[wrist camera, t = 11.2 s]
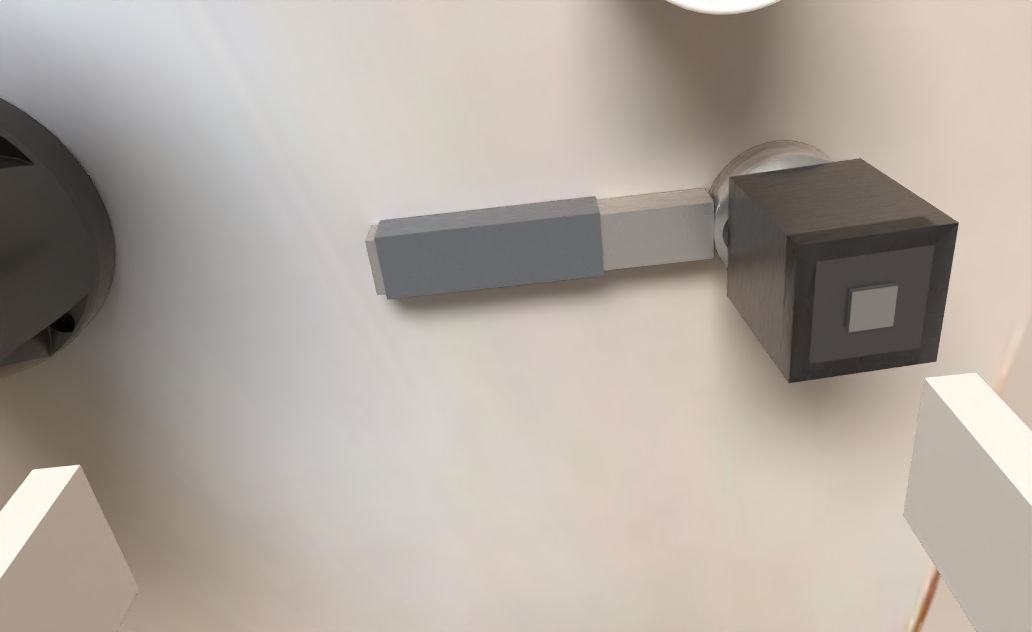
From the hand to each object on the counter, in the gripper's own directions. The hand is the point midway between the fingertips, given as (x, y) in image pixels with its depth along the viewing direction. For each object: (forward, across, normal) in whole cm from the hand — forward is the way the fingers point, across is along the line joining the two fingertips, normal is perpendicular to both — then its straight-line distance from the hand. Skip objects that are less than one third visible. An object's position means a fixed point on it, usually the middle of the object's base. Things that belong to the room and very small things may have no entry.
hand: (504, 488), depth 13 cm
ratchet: (+29, +4, -8) cm, 30 cm away
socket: (+26, +13, -8) cm, 30 cm away
